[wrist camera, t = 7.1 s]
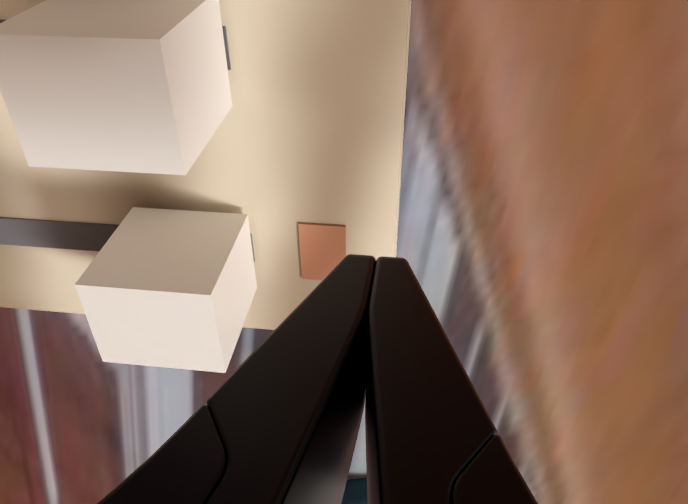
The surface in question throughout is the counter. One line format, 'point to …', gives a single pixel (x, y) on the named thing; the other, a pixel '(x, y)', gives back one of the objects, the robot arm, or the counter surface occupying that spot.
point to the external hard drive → (355, 492)
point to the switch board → (242, 159)
